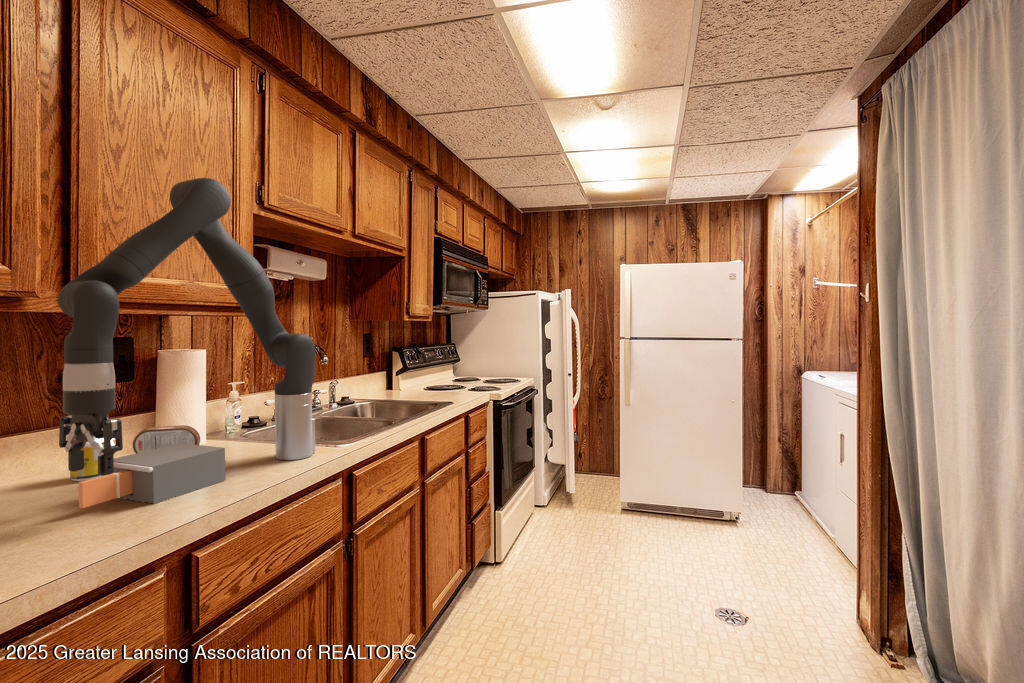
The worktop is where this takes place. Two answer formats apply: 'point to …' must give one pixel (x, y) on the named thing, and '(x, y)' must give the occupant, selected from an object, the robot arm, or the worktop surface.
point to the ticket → (105, 488)
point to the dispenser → (172, 470)
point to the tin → (165, 437)
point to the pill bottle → (87, 465)
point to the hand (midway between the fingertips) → (90, 472)
